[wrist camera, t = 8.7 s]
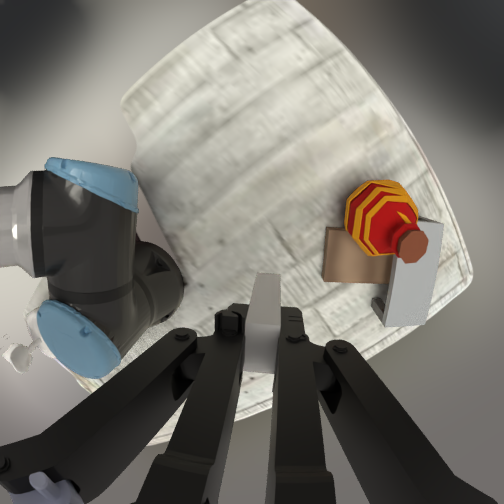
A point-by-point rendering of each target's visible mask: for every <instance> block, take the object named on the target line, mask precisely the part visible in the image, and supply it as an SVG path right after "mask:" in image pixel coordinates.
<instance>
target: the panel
mask: <svg viewBox="0 0 504 504" xmlns="http://www.w3.org/2000/svg"><path fill="white" fill-rule="evenodd" d="M393 255H394V254H390V255H379V256H368V255H367V254H366V253H365V252H364V251H363V250H362V249H361V248H360V247H359V245H358V244H357V243H356V242H355V241H354V239H353V238H352V236H351V235H350V234H349V233H348V232H347V230H346V229H345V228H334V227H326V237H325V248H324V258H323V268H322V278H323V281H324V282H343V283H373V284H389V282H390V276H391V269H392V262H393Z"/></svg>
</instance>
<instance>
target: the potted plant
mask: <svg viewBox="0 0 504 504" xmlns="http://www.w3.org/2000/svg"><path fill="white" fill-rule="evenodd" d="M39 307H40V306H39ZM39 307H38V308H36V309H34V310H33V311H31V312H30V313H28V314H27V320H26V323H27V327H28V331H29V334H30V336H31V338H32V339H33V342H32V343H31V344H30V346H29V347H27V346H23V345H22V344H14V343H13V344H12V345H11V346H10V347H9V348H8V350H7V351H6V352H5V353H4V354H3V355H2V356H3V357H4V358H5V359H6V360H7V361H8V362H9V363H11V364H12V365H13V367H14V369H15V371H17V372H19V373H21V374H24V373H25V372H27V371H28V368H29V365H30V364H31V363H32V359H33V357H32V355H31V353H32V352H33V351H34V350H35V349H36V347H38V348H39V349H40V350H41V351H42V352H43V354H45V355H47V356H48V357H50V358H52V359H54V358H56V357H55V356H54V354H53V353H52V352H51V351H50V349H49V348H48V347H47V345H46V343H45V342H44V340H43V338H42V336H41V334H40V331H39V329H38V325H37V311H38V310H39Z"/></svg>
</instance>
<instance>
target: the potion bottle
mask: <svg viewBox="0 0 504 504" xmlns="http://www.w3.org/2000/svg"><path fill="white" fill-rule="evenodd" d="M417 221H418V209H417V207H416V205H415V204H414V202H413V200H412V199H411V197H410V196H409V194H408V193H407V192H406V190H405V189H404V188H403V187H402V186H401V185H400V183H398V182H395V181H392V180H371V181H366V182H365V183H364V184H362V185H361V186H360V187H358V188H357V189H356V190H355V191H354V192H353V193H352V194H351V195H350V196H349V197H348V198H347V201H346V210H345V218H344V225H345V229H346V230H347V232H348V233H349V234H350V235H351V236H352V238H353V239H354V241H355V242H356V243H357V244H358V245H359V247H360V248H361V249H362V250H363V251H364V252H365V253H366V254H367V255H368V256H379V255H390V254H395V255H396V256H397V257H398V258H401V259H402V260H403V262H404V263H405V264H408V263H416V262H417V261H418V260H419V259H420V258H421V257H422V256H423V255H424V254H425V253H426V251H427V246H428V242H429V239H428V238H427V236H426V234H425V233H424V231H421V230H420V228H419V227H418V225H417Z"/></svg>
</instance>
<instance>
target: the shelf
mask: <svg viewBox="0 0 504 504" xmlns="http://www.w3.org/2000/svg"><path fill="white" fill-rule="evenodd" d="M417 225H418V227H419V228H420V230H421V231H424V233H425V234H426V236H427V238H428V239H429V242H428V246H427V251H426V253H425V254H424V255H423V256H422V257H421V258H420V259H419V260H418V261H417V262H416V263H408V264H405V263H404V262H403V260H402V259H401V258H398V257H397V256H396V255H395V254H394V255H393V262H392V269H391V276H390V282H389V288H388V294H387V299H386V305H385V304H384V303H383V301H382V300H381V299H380V298H372V304H371V307H372V308H373V310H374V312H375V313H376V315H377V316H378V318H379V319H380V321H381V322H382V324H383V325H384V327H399V326H414V325H424V324H425V322H426V318H427V315H428V311H429V307H430V303H431V299H432V294H433V290H434V285H435V280H436V275H437V269H438V264H439V258H440V251H441V244H442V236H443V227H444V224H443V223H440V222H437V221H433V220H430V219H427V218H424V217H420V216H418V221H417Z"/></svg>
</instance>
